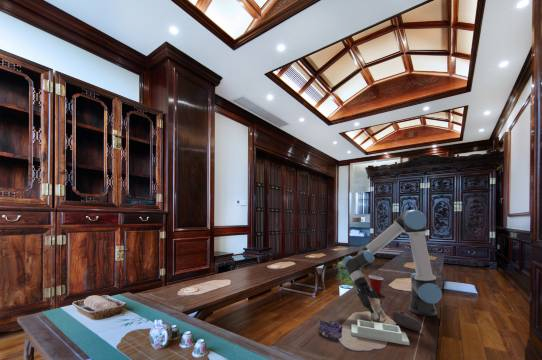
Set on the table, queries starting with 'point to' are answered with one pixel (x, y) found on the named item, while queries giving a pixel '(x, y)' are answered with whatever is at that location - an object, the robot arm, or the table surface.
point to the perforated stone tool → (406, 321)
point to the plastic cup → (376, 283)
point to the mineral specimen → (330, 329)
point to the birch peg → (376, 306)
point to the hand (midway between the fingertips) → (380, 317)
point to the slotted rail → (379, 332)
